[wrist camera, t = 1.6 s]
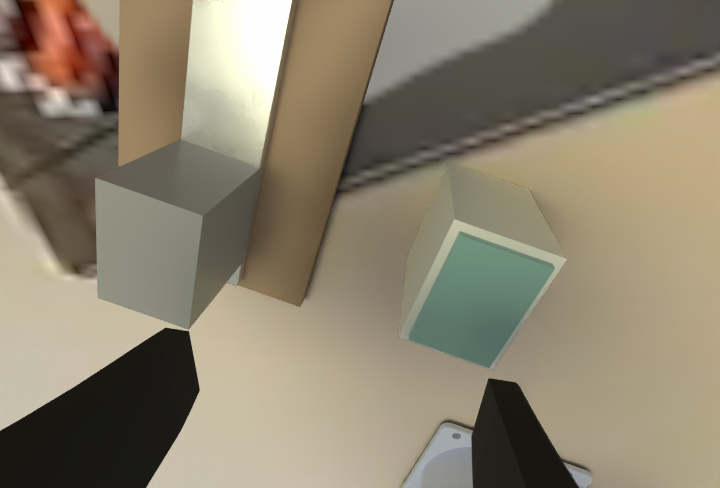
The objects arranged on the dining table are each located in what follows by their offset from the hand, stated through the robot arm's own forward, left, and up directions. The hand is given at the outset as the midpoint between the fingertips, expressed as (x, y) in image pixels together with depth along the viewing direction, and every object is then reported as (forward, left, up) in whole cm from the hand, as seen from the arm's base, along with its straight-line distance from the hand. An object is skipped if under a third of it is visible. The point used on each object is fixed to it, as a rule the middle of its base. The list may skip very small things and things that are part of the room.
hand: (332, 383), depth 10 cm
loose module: (-4, -1, -11) cm, 11 cm away
